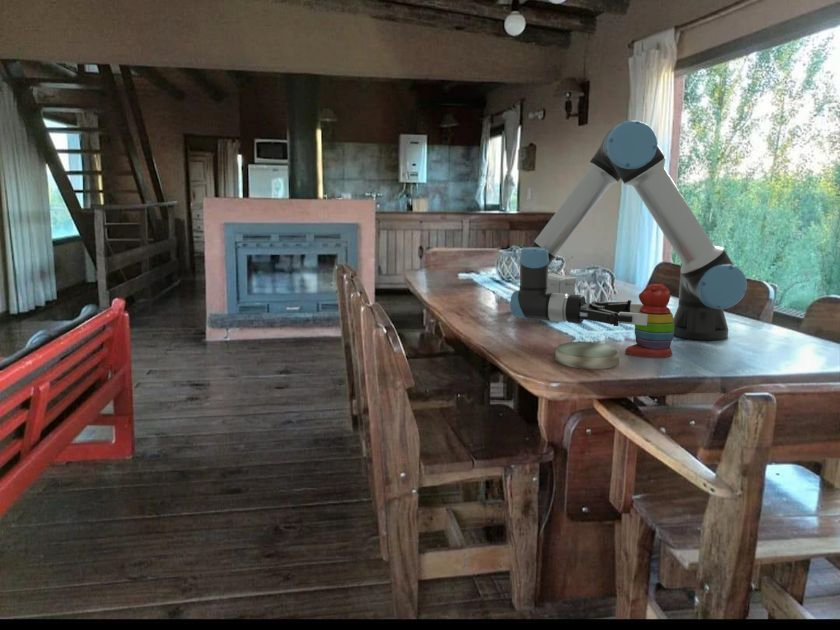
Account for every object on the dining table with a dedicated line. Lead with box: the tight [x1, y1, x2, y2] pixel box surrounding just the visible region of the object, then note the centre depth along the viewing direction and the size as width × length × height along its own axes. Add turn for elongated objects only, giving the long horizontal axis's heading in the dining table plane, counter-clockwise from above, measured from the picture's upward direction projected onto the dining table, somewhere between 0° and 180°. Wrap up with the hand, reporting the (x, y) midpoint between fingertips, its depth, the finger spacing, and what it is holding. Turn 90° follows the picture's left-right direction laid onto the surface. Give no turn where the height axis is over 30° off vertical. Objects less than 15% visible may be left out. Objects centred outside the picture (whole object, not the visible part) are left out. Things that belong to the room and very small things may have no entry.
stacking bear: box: [624, 282, 675, 359], centre depth 160 cm, size 11×10×18 cm
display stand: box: [554, 341, 620, 370], centre depth 155 cm, size 15×15×3 cm
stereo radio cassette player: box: [547, 255, 578, 295], centre depth 213 cm, size 21×8×20 cm, turn 24°
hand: (652, 314), depth 160 cm, fingers open, 13 cm apart
